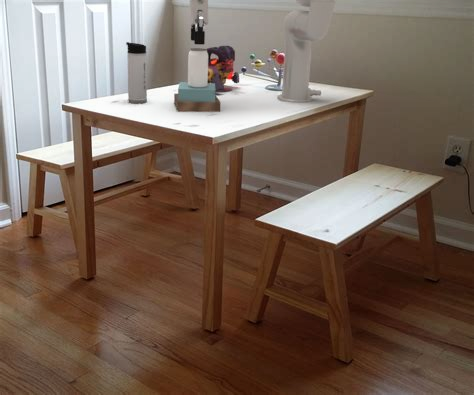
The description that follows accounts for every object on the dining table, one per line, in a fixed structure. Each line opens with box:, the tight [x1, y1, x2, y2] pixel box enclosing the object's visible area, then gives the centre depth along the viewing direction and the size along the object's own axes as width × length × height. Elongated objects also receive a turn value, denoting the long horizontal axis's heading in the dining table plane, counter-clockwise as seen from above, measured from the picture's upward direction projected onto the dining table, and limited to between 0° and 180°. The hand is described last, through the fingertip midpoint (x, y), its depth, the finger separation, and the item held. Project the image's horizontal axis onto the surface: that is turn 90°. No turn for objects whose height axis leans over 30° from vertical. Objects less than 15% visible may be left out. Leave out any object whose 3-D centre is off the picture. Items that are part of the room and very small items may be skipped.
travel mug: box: [125, 41, 148, 105], centre depth 213 cm, size 6×7×20 cm
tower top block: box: [177, 81, 216, 102], centre depth 210 cm, size 12×12×4 cm
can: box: [187, 47, 208, 88], centre depth 206 cm, size 6×6×12 cm
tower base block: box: [173, 93, 221, 113], centre depth 211 cm, size 14×14×4 cm
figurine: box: [206, 45, 240, 93], centre depth 239 cm, size 20×14×17 cm
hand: (197, 42), depth 203 cm, fingers open, 9 cm apart
